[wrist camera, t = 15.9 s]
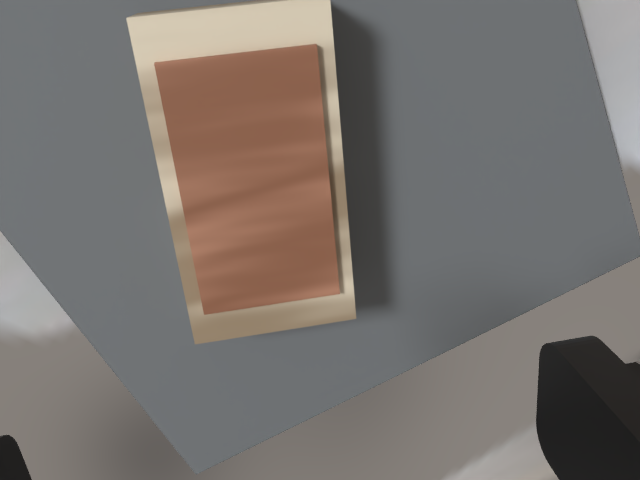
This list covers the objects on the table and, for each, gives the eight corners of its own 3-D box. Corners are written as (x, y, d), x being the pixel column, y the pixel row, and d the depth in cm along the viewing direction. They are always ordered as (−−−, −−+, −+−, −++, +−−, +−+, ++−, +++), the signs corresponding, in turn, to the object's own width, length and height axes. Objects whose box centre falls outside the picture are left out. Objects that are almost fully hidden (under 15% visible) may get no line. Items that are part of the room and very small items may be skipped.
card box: (357, 322, 24) (331, -4, 19) (194, 348, 23) (124, 18, 19) (343, 284, 27) (316, -7, 22) (197, 306, 26) (138, 12, 22)
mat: (399, -614, 17) (404, -633, 16) (636, 248, 29) (644, 254, 29) (-323, -188, 18) (-340, -193, 18) (196, 465, 31) (195, 474, 30)
